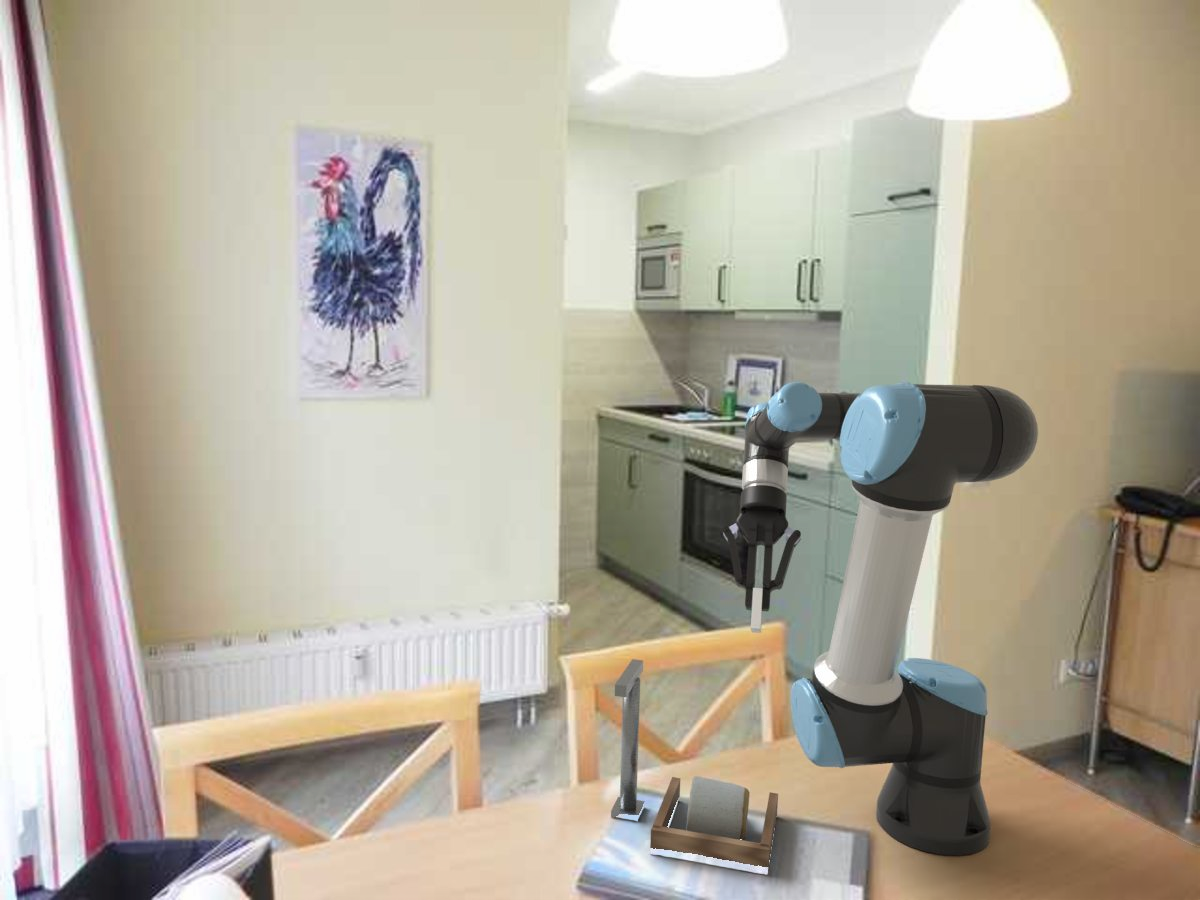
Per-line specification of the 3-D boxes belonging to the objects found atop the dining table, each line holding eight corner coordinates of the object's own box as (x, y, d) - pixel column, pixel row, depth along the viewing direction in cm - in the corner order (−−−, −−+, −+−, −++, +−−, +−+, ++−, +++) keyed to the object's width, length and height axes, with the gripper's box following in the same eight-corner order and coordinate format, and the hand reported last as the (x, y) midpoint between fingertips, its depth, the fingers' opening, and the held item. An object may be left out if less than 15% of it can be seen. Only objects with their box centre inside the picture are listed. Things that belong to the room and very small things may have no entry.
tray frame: (776, 816, 126) (778, 793, 126) (767, 875, 112) (769, 850, 112) (671, 799, 130) (672, 776, 130) (650, 854, 116) (650, 829, 116)
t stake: (646, 802, 129) (651, 661, 127) (630, 839, 120) (635, 687, 117) (620, 798, 130) (624, 658, 128) (602, 834, 121) (606, 683, 118)
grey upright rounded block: (746, 853, 117) (749, 798, 116) (685, 845, 119) (687, 791, 118) (748, 813, 127) (751, 763, 127) (692, 806, 129) (694, 756, 128)
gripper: (803, 501, 149) (798, 639, 140) (726, 498, 152) (716, 633, 143) (803, 484, 143) (798, 627, 133) (723, 481, 146) (712, 621, 136)
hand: (755, 630), depth 138 cm, fingers closed
